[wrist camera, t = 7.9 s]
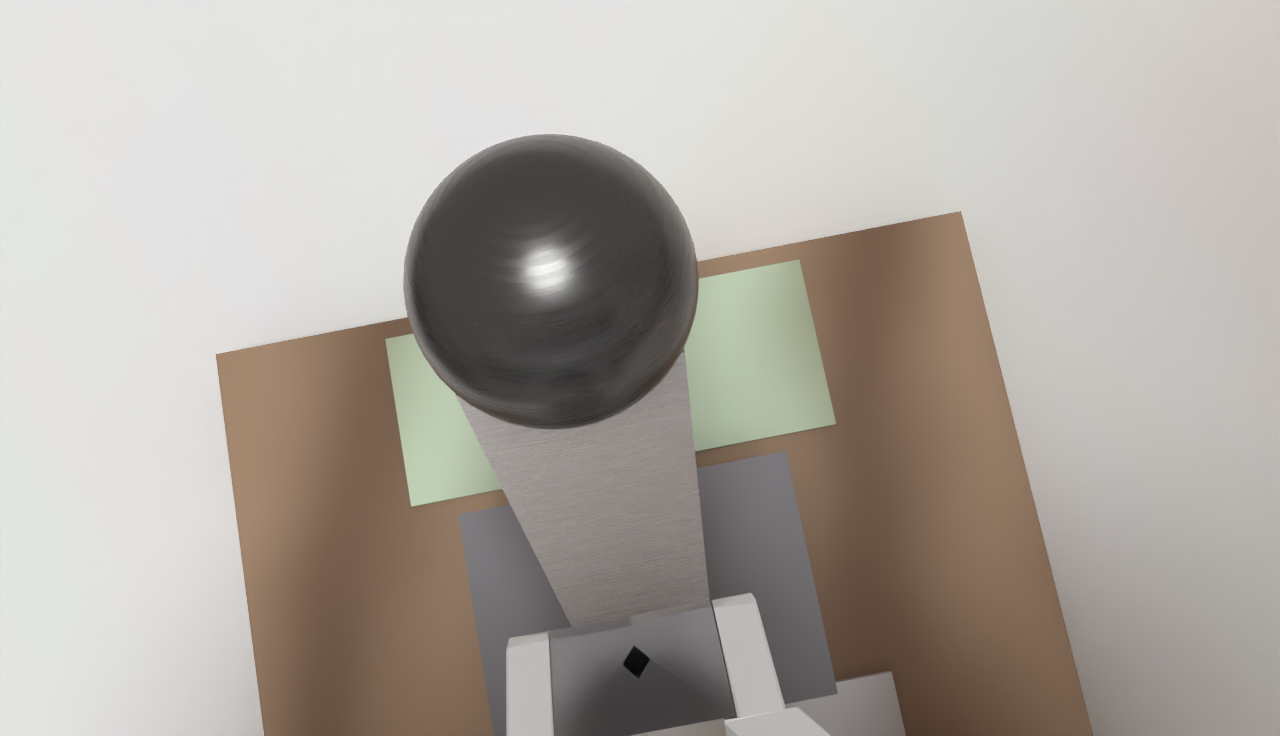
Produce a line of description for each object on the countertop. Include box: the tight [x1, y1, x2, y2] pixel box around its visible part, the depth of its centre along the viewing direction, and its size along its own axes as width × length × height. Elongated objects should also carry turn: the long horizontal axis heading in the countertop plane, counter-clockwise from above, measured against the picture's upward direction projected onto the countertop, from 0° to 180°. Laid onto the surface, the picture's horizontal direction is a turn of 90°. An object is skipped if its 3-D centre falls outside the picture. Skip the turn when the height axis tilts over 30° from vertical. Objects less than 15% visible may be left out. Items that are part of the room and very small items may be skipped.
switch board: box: [216, 211, 1093, 736], centre depth 23 cm, size 20×16×6 cm
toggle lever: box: [403, 134, 710, 627], centre depth 14 cm, size 3×3×13 cm
